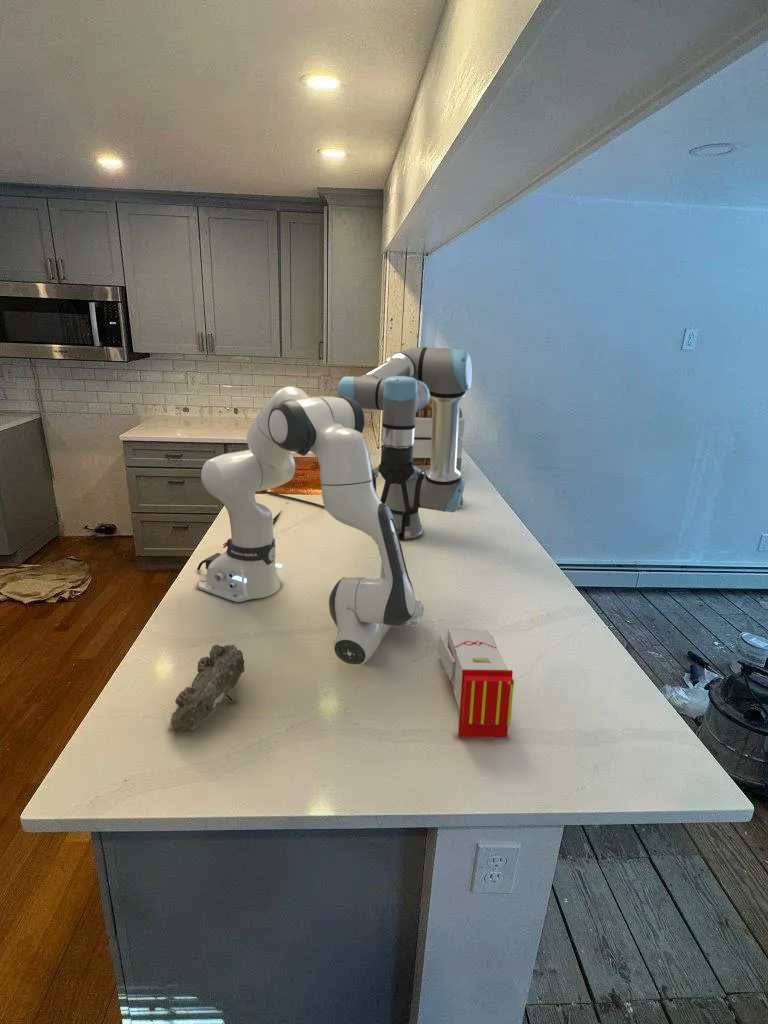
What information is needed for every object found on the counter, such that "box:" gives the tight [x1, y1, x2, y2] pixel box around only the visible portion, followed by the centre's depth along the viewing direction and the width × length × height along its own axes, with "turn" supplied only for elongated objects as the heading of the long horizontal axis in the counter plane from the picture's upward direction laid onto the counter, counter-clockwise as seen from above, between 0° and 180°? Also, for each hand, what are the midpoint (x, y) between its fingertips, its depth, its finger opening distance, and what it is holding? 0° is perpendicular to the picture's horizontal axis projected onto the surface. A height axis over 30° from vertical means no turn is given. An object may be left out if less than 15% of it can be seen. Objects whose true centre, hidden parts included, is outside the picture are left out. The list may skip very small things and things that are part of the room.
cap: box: [397, 528, 401, 541], centre depth 139 cm, size 4×4×2 cm
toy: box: [437, 628, 515, 738], centre depth 117 cm, size 12×13×30 cm
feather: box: [273, 510, 282, 526], centre depth 212 cm, size 2×28×2 cm
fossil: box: [170, 644, 246, 733], centre depth 111 cm, size 22×10×15 cm
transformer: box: [411, 397, 465, 475], centre depth 268 cm, size 34×33×41 cm
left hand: (390, 591), depth 146 cm, fingers closed on bottle, 5 cm apart
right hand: (392, 537), depth 140 cm, fingers closed on cap, 4 cm apart
